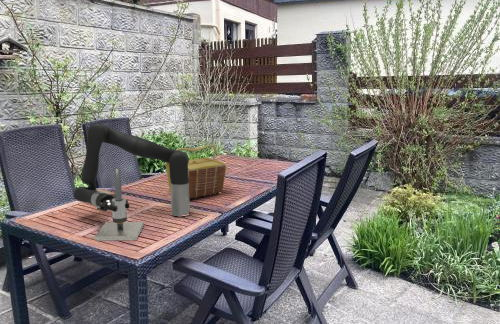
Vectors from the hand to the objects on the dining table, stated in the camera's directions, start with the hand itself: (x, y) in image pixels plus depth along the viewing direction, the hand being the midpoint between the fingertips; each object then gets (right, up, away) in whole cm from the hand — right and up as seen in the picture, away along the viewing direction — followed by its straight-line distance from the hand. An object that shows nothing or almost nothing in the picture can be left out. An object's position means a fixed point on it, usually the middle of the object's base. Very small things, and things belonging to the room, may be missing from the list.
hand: (122, 207), depth 188 cm
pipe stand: (-2, -12, +4) cm, 13 cm away
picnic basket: (+25, 0, +68) cm, 72 cm away
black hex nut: (-2, -6, +3) cm, 7 cm away
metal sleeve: (-2, -4, +2) cm, 5 cm away
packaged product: (-28, -1, +59) cm, 65 cm away
